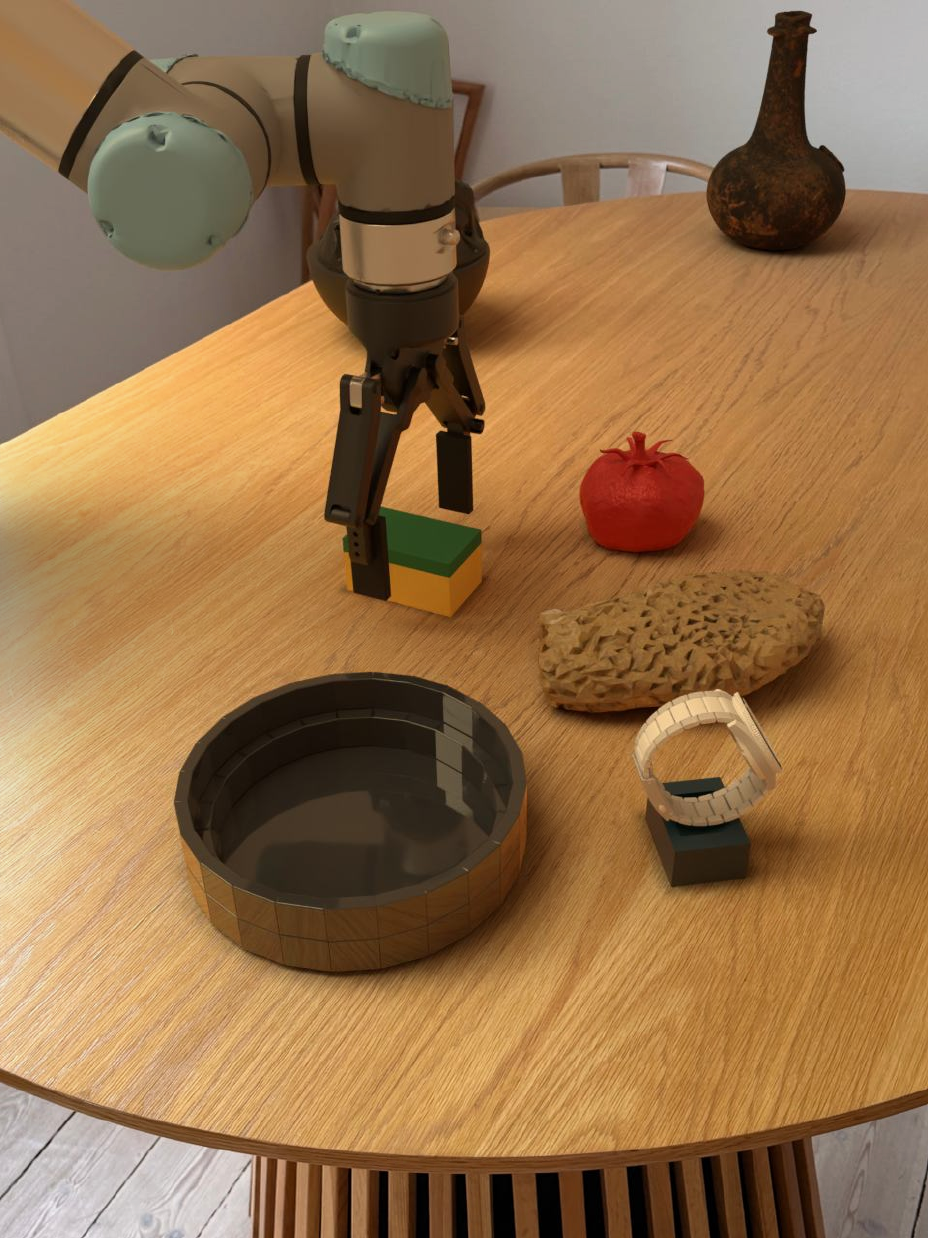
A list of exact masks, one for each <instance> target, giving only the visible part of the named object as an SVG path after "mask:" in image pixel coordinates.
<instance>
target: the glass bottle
mask: <svg viewBox="0 0 928 1238" xmlns="http://www.w3.org/2000/svg"><path fill="white" fill-rule="evenodd" d="M812 17H813V13H810V12H808V11H804V10H789V11H780V12H777V13H775V14H774V25H773V26H770V27H768V28H767V29H766V33H767V34H768V35H769V36H771V37H772V42H771V48H770V49H771V50H770V54H769V59H768V67H767V72H766V77H765V83H764V87H763V93H762V97H761V102H760V107H759V111H758V114H757V118H756V121H755V125H754V128H753V130H752V133H751V136H750V137H749V139H748V140H747V141H746V142H745V143H744V144H742V145H740V146H738V147H736V148H733V149H732V150H730V151H728V152H727V153H726V154H725V155H724V156H722V158H720V159H719V161H718V162H717V163H716V164H715V166H714V168H713V169H712V171H711V172H710V175H709V178H708V180H707V184H706V192H705V193H706V195H705V196H706V203H707V207H708V211H709V213H710V216H711V218H712V219H713V221H714V223H715V224H716V226H717V228H719V230H720V231H721V232H722V233H723V234H724V235H725V236H726V237H728V238H729V239H731V241H734V242H736V243H737V244H740V245H743V246H746V247H749V248H754V249H759V250H769V251H770V250H771V251H782V250H791V249H797V248H800V247H804V246H806V245H808V244H811V243H813V242H814V241H816V240H817V239H819V238H821V237H822V236H823V235H824V234H826V233H827V231H829V229H830V228H831V227H832V226H833V225H834V224H835V222H836V221H837V220H838V218H839V217H840V215H841V213H842V211H843V208H844V204H845V200H846V194H847V193H846V190H847V189H846V179H845V176H844V172H845V169H846V168H845V167H844V165H843V163H842V162H841V161H840V160H839V158H838V157H837V156H836V155H835V154H834V152H832V151H831V150H830V149H829V148H828V147H827V146H826V145H824V144H821V145H820V146H819V147H816V146H813V145H812V143H811V142H810V140H809V137H808V132H807V124H806V123H807V122H806V77H807V75H806V74H807V61H808V50H809V49H808V45H809V36H810V35H814V34H816V33H817V32H818V30H817V29H816V28H815V27H812V26H811V22H812V19H813V18H812Z"/></svg>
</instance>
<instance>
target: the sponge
mask: <svg viewBox="0 0 928 1238" xmlns="http://www.w3.org/2000/svg"><path fill="white" fill-rule="evenodd" d="M659 584H660V585H658V586H657V585H656V584H655V583H650V584H649V583H648V584H646V585H644V586H642V587H640V588H638V589H636V591H634V592H632V593H631V594H629V595H627V596H620V597H616V598H612V599H608V600H607V599H601V600H598V601H595V602H591V603H587V604H584V605H582V606H580V607H578V608H576V609H573V610H571V611H565V612H564V611H562V610H560V609H558V608H551V609H548V610H545V611H542V612H540V613H539V622H538V638H539V644H538V650H539V655H538V669H539V676H538V680H539V686H540V687H541V688H542V691H543V694H544V699H545V701H546V702H547V704H548V705H549V706H550V707H553V708H555V709H558V708H559V707H562V708H563V709H565V710H569V711H570V710H571V711H578V712H587V713H590V714H592V713H593V714H595V713H603V712H604V713H606V712H622V711H628V710H632V709H633V710H634V709H639V708H654V707H655V708H657V707H659V708H661V707H662V706H663V705H665V704H666V703H668V702H672V701H673V700H674V699H676V698H678V697H681V696H684V695H687V696H688V694H691V693H695V692H705V691H714V690H716V689H720V690H722V691H725V692H727V693H728V694H729V695H731V696H732V697H733V696H734V694H735V693H737V692H738V693H739V694H740V695H741V696H742V697H744V696H747V695H749V694H751V693H752V692H754V691H757V690H759V689H760V688H761V687H763V686H765V685H767V684H769V683H770V682H773V681H774V680H776V679H777V678H778V677H779V676H781V675H786V674H787V671H788V669H790V668H793V667H795V666H796V665H798V664H799V663H800V662H801V661H802V660H803V659H804V658H806V657H807V656H809V653H810V652H811V649H812V648H813V647H814V645H816V643H817V640H818V639H819V638H820V636H821V633H822V628H823V627H824V626H823V621H824V617H825V608H826V605H825V603H824V601H823V598H822V596H821V595H820V594H818V593H816V592H813V591H810V590H808V589H806V588H804V587H802V586H800V585H799V584H795V582H792V581H789V578H788V577H786V576H783V575H781V574H778V573H775V572H773V574H772V573H771V574H770V573H769V572H768V571H757V572H755V571H748V570H743V569H734V570H733V569H732V570H724V571H723V570H722V571H720V570H719V571H712V572H701V573H693V574H691V573H690V574H687V575H684V576H681V577H675V578H672V579H668V580H667V579H664V580H662V581H659ZM672 704H673V703H672ZM673 706H674V705H673ZM686 706H687V705H686Z"/></svg>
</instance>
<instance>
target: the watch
mask: <svg viewBox="0 0 928 1238" xmlns="http://www.w3.org/2000/svg"><path fill="white" fill-rule="evenodd" d="M672 703H673V704H672ZM673 705H674V706H673ZM686 705H687V706H686ZM716 722H717V723H724V725H725V727H726V730H727V731H728V733H729V735H730V736H731V738H732V740H733V742H734V743H735V745H736V747H737V749H738V750H739V753H740V755H741V756H742V758H743V759H744V761H745V763H746V764H747V766H748V768H746V769H745V770H744V772H743V773H741V775H740V776H739V778H737V779H735V780H734V781H732V782H731V783H730V784H728V785H727V787H726V786H725V784H724V782H723V780H722V778H721V776H715V777H706V778H705V777H704V778H696V779H685V780H677V781H667V782H661V781H660V780H659V778H658V777H657V776H656V775H655V773H654V765H653V763H652V759H653V758H654V757H655V755H656V754H657V752H658V751H659V748H660V747H662V746H664V745H665V744H666V743H667V742H668V741H670V738H674V737H676V736H677V735H679V734H681V733H683V732H684V731H685V730H689V729H692V728H696V727H698V726H700V725H706V724H715V723H716ZM684 729H685V730H684ZM631 757H632V760H633V763H634V766H635V769H636V771H637V775H638V777H639V779H640V781H641V784H642V787H643V790H644V792H645V794H646V809H645V815H644V817H645V818H644V819H645V823H646V825H647V827H648V831H649V834H650V836H651V838H652V841H653V843H654V846H655V849H656V851H657V854H658V857H659V859H660V862H661V865H662V867H663V870H664V873H665V876H666V879H667V880H668V883H669V887H670V888H675V887H685V886H692V885H700V884H701V885H702V884H710V883H718V882H725V881H726V882H727V881H735V880H736V881H737V880H743V879H746V876H747V870H748V865H749V859H750V854H751V853H750V852H751V846H752V842H751V840H750V838H749V836H748V833H747V831H746V829H745V827H744V825H743V822H742V821H741V818H740V816H744V815H746V814H747V813H749V812H751V811H752V810H753V809H755V807H757V806H758V805H760V803H762V801H764V800H765V798H766V797H767V795H768V794H770V792H771V791H772V790H775V789H776V788H777V787H776V786H777V775H776V774H781V773H783V772H784V771H783V767H782V765H781V761H780V759H779V757H778V755H777V752H776V751H775V750H774V748H773V746H772V744H771V742H770V740H769V739H768V737H767V735H766V734H765V732H764V730H763V728H762V725H760V722H759V721H758V719H757V718H756V716H755V714H754V713H753V711H752V709H751V707H750V706H749V704H748V703H747V701H746V700H745V698H744V696H741V695H740V694H739V693H738V692H737V693H735V694H734V696H733V697H732V696H731V695H729V694H728V693H727V692H725V691H722V690H720V689H716V690H714V691H705V692H695V693H691V694H688V696H687V695H684V696H681V697H678V698H676V699H674V700H673V701H672V702H668V703H666V704H665V705H663V706H662V707H659V708H658V709H657V710H655V712H653V713H652V714H651V715H650V716H649V717H648V718H647V719H646V721H645V722H644V723H643V724H642V726H641V728H640V729H639V731H638V733H637V735H636V737H635V741H634V747H633V753H632V754H631Z"/></svg>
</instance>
